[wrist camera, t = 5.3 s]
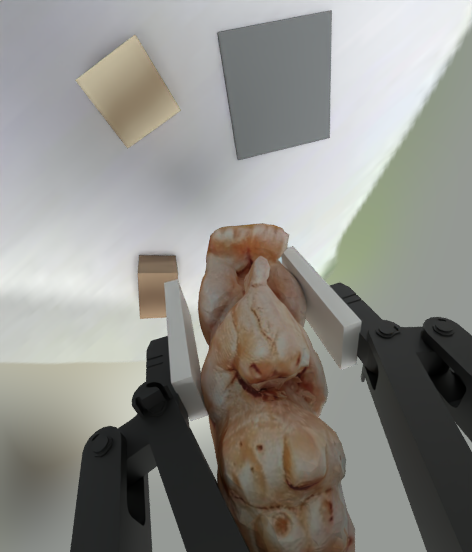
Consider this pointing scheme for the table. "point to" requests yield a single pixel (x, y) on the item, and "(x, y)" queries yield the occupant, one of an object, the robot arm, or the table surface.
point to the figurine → (268, 399)
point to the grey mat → (278, 82)
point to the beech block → (129, 92)
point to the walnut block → (154, 283)
